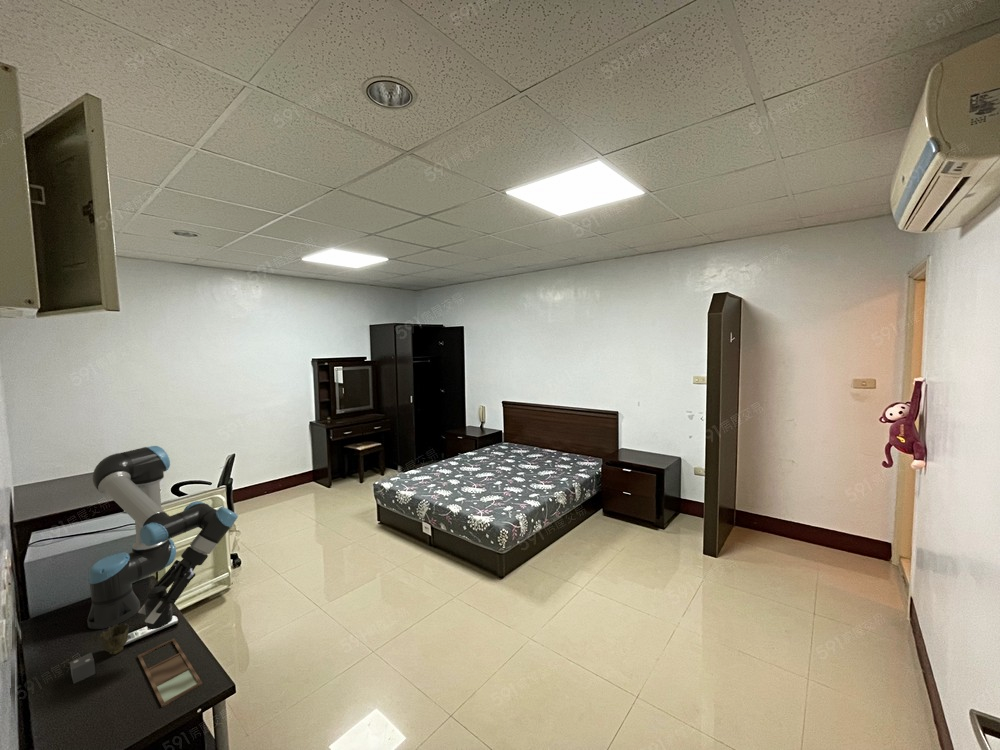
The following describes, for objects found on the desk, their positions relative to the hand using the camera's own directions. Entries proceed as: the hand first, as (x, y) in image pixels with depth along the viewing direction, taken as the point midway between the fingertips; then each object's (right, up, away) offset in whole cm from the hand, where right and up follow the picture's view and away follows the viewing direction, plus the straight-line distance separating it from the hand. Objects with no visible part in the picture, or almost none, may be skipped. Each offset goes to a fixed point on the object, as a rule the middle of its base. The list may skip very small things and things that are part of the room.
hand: (145, 617), depth 135 cm
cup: (-17, -17, +8) cm, 25 cm away
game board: (+8, -17, 0) cm, 19 cm away
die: (-19, -18, -2) cm, 26 cm away
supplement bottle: (+2, -4, +3) cm, 6 cm away
